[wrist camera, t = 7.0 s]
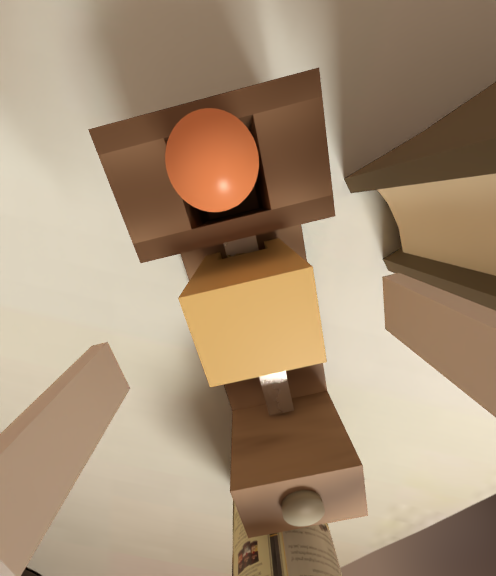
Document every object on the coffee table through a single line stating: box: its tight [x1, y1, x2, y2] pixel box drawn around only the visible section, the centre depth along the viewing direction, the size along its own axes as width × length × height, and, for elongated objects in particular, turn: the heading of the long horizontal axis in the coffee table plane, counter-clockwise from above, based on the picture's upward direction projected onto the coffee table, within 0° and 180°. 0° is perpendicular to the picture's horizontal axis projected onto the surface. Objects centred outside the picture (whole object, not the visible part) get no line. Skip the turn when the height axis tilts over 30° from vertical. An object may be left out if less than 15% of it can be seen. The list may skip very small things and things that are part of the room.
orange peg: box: [165, 108, 259, 212], centre depth 11 cm, size 3×3×6 cm
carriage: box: [178, 238, 327, 387], centre depth 16 cm, size 5×6×9 cm
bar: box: [223, 235, 294, 416], centre depth 21 cm, size 17×2×2 cm, turn 13°
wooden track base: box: [88, 68, 368, 538], centre depth 19 cm, size 30×10×10 cm, turn 13°
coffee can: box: [232, 500, 342, 576], centre depth 24 cm, size 10×10×14 cm
